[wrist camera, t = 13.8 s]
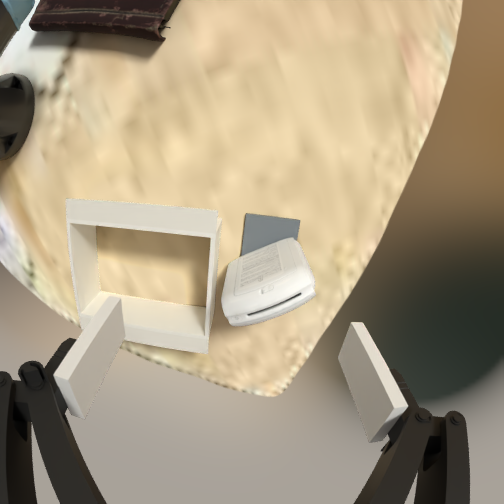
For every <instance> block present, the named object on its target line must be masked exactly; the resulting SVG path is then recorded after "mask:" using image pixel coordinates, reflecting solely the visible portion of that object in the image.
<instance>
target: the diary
mask: <svg viewBox="0 0 504 504" xmlns="http://www.w3.org/2000/svg"><path fill="white" fill-rule="evenodd" d="M179 2H180V0H40V2H39V4H38V6H37V8H36V10H35V13H34V14H33V16H32V18H31V20H30V22H29V26H30V27H31V29H32V30H34V31H80V32H93V33H109V34H121V35H127V36H133V37H139V38H144V39H149V40H154V41H165V39H166V38H164V37H162V36H161V35H160V34H159V31H158V28H165V26H163V25H161V22H162V20H164V21H169V19H170V17H171V15H172V14H173V12H174V10H175V8H176V7H177V5H178V3H179ZM167 28H171V27H167Z"/></svg>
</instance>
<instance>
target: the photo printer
mask: <svg viewBox="0 0 504 504" xmlns="http://www.w3.org/2000/svg"><path fill="white" fill-rule="evenodd" d="M314 289H315V278H314V275H313V273H312V271H311V268H310V266H309V264H308V261H307V259H306V257H305V254H304V252H303V250H302V248H301V245H300V244H299V243H298V242H297V241H296V240H294V238H293V237H291V238H286V239H283V240H280V241H277V242H275V243H272V244H270V245H267V246H265V247H262V248H260V249H257V250H255V251H253V252H250V253H248V254H245V255H243V256H241V257H239V258H237V259H235V260H233V261H232V262H230V263H229V264H228V268H227V273H226V278H225V283H224V288H223V292H222V297H221V303H222V308H223V312H224V315H225V316H226V317H227V319H228V321H229V323H230V324H231V325H232V326H246V325H252V324H256V323H260V322H264V321H267V320H270V319H273V318H275V317H278V316H281V315H283V314H285V313H288V312H290V311H292V310H294V309H296V308H298V307H300V306H302V305H303V304H305V303H307V302H308V301H309V300H311V299H312V298H313V297H314V296H316V293H315V291H314Z"/></svg>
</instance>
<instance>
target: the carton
mask: <svg viewBox="0 0 504 504" xmlns="http://www.w3.org/2000/svg"><path fill="white" fill-rule="evenodd" d="M66 220H67V235H68V247H69V257H70V265H71V273H72V280H73V287H74V293H75V299H76V305H77V310H78V315H79V320H80V325H81V329H82V330H84V329H85V328H86V326H87V325H88V323H89V322H90V321H91V319H92V318H93V317H94V315H95V314H96V313H97V311H98V310H99V308H100V307H101V306H102V304H103V303H104V302H105V301H106V299H107V298H108V297H109V296H113V297H118V298H121V303H122V313H123V321H124V329H125V338H124V340H127V341H131V342H136V343H142V344H147V345H152V346H158V347H164V348H170V349H176V350H182V351H189V352H196V353H203V354H208V344H209V335H210V330H211V325H212V320H213V315H214V310H215V296H216V283H217V271H218V259H219V247H220V236H221V225H222V218H218V210H210V209H200V208H190V207H179V206H168V205H157V204H145V203H132V202H118V201H104V200H88V199H70V198H66ZM96 226H105V227H115V228H125V229H134V230H144V231H153V232H163V233H172V234H181V235H190V236H200V237H209V238H211V243H210V257H209V271H208V286H207V303H206V307H200V306H193V305H185V304H178V303H171V302H164V301H158V300H151V299H145V298H139V297H132V296H127V295H121V294H115V293H109V292H104V291H101V286H100V277H99V267H98V254H97V238H96Z"/></svg>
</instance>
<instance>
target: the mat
mask: <svg viewBox="0 0 504 504" xmlns="http://www.w3.org/2000/svg"><path fill="white" fill-rule="evenodd" d="M299 225H300V220H296V219H288V218H280V217H272V216H264V215H256V214H247V213H246V219H245V228H244V236H243V245H242V253H241V256H243V255H245V254H248V253H250V252H253V251H255V250H257V249H260V248H262V247H265V246H267V245H270V244H272V243H275V242H277V241H280V240H283V239H286V238H291V237H293V238H294V240H296V241H297V237H298V231H299Z"/></svg>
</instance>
